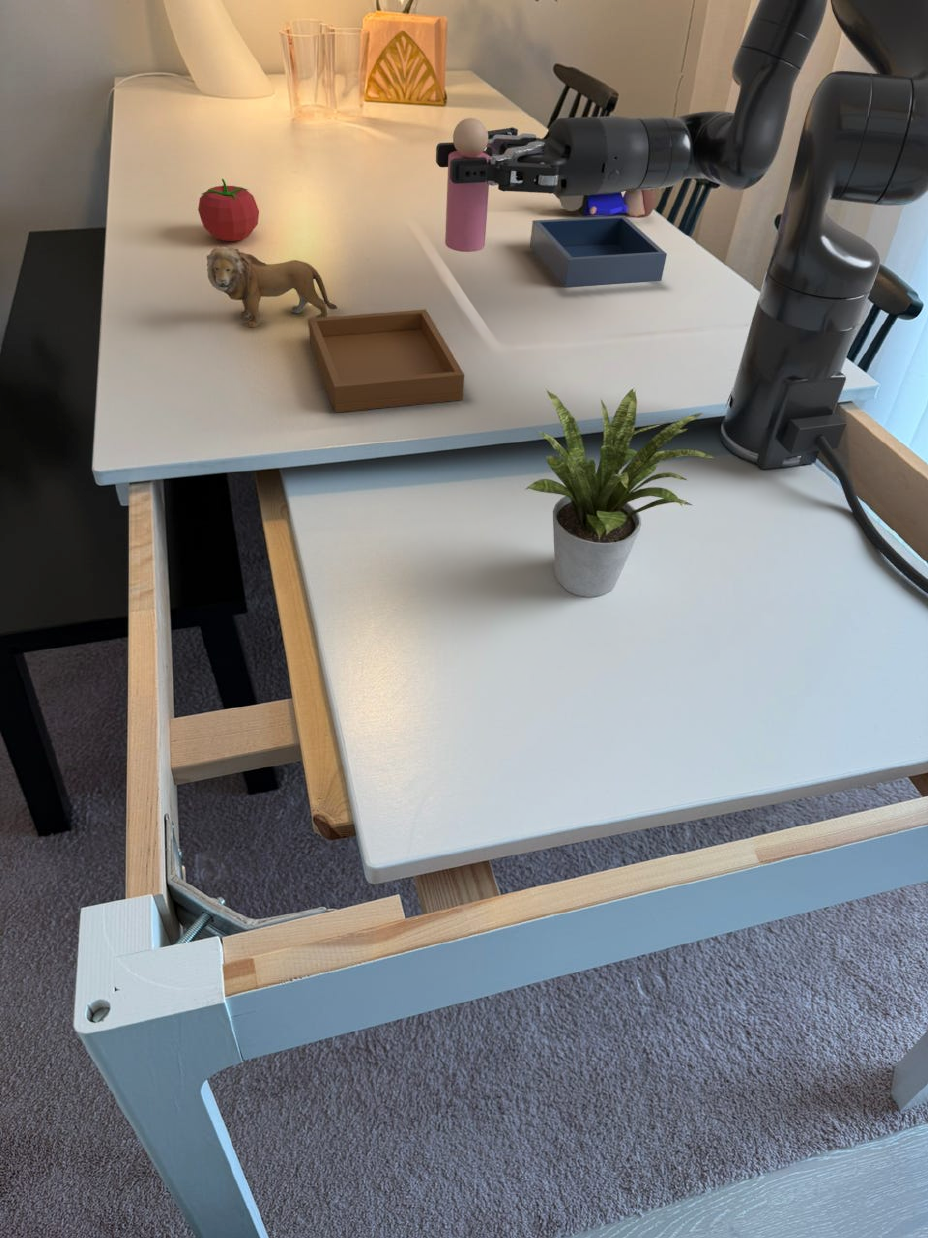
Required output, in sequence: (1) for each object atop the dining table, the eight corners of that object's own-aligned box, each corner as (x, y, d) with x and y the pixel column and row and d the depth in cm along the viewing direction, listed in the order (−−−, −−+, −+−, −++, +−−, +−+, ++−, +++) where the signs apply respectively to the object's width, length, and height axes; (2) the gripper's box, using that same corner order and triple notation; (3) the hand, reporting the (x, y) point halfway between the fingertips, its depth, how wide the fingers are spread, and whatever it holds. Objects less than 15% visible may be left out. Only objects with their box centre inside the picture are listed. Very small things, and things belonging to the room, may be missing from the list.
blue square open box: (660, 287, 122) (667, 253, 119) (564, 294, 118) (568, 259, 115) (618, 247, 131) (624, 215, 128) (529, 253, 128) (532, 220, 125)
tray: (462, 400, 97) (464, 374, 95) (335, 413, 94) (334, 386, 92) (425, 333, 108) (425, 309, 106) (309, 343, 105) (308, 317, 103)
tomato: (199, 228, 127) (191, 169, 122) (256, 225, 130) (250, 167, 124) (206, 251, 122) (198, 190, 117) (265, 247, 124) (260, 187, 119)
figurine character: (560, 235, 137) (659, 225, 138) (561, 182, 132) (663, 171, 132) (551, 219, 142) (647, 208, 142) (552, 166, 136) (651, 156, 137)
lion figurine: (219, 337, 105) (209, 258, 98) (209, 317, 108) (198, 239, 102) (343, 320, 109) (341, 244, 103) (330, 302, 113) (326, 227, 107)
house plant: (698, 645, 72) (755, 469, 61) (523, 648, 71) (548, 468, 59) (656, 532, 82) (698, 364, 71) (502, 533, 81) (521, 362, 70)
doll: (489, 250, 101) (498, 124, 92) (451, 253, 99) (456, 125, 91) (478, 235, 104) (486, 111, 95) (440, 237, 103) (444, 112, 94)
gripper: (575, 98, 102) (425, 103, 97) (629, 138, 92) (466, 145, 88) (566, 171, 107) (424, 178, 102) (617, 216, 97) (462, 226, 93)
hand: (444, 163), depth 95 cm, fingers closed on doll, 4 cm apart
